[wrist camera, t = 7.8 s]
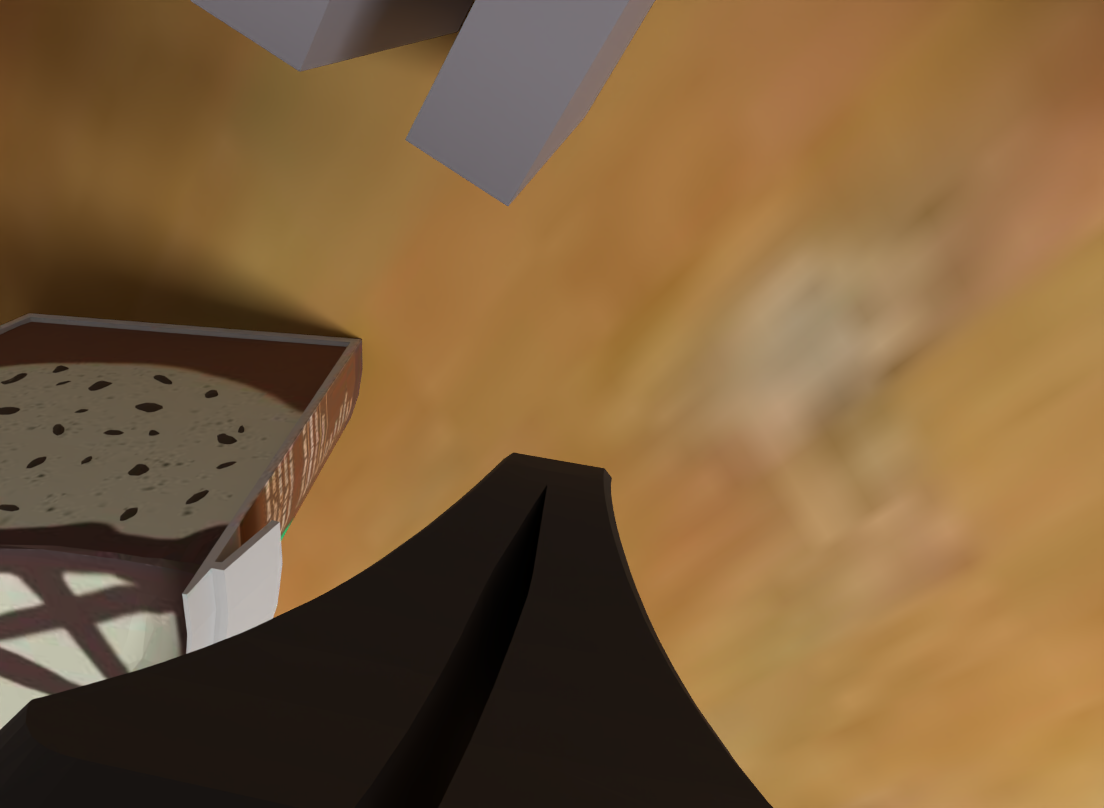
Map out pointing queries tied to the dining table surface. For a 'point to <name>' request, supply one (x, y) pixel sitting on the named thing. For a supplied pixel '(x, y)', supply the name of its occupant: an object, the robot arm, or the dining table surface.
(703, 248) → the dining table surface
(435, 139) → the domino
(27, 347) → the food container
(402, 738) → the robot arm
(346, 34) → the domino
